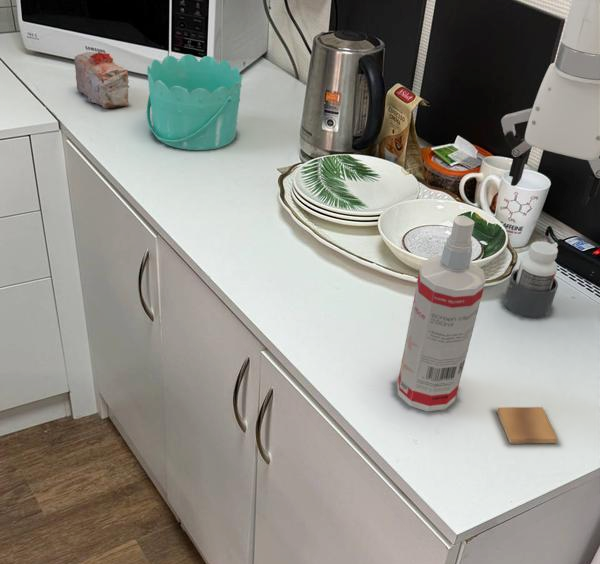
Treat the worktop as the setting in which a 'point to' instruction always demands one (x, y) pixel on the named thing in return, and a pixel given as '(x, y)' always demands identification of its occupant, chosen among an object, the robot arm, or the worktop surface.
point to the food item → (101, 79)
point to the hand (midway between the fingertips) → (550, 191)
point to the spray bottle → (441, 323)
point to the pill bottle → (538, 267)
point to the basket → (193, 102)
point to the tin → (528, 299)
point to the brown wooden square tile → (526, 425)
